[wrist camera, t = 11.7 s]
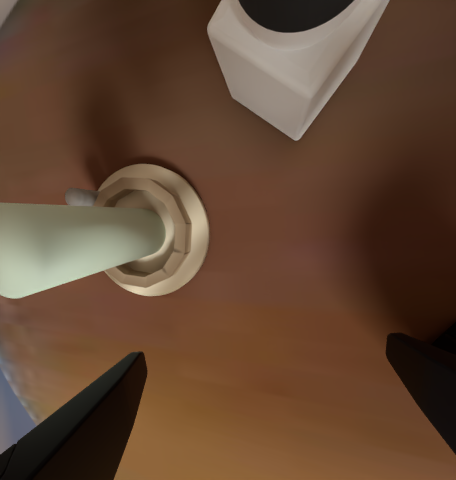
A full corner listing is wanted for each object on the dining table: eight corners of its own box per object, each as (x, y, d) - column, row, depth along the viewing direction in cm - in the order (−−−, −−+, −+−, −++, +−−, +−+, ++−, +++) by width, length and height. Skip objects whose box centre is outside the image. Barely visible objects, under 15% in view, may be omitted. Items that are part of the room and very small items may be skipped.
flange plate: (236, 214, 19) (226, 215, 16) (168, 316, 22) (145, 337, 19) (129, 140, 21) (95, 123, 17) (78, 244, 24) (40, 250, 20)
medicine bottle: (358, 60, 16) (577, -344, 4) (296, 143, 18) (337, 9, 6) (282, 13, 17) (297, -442, 5) (230, 97, 18) (151, -102, 7)
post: (174, 238, 20) (60, 266, 9) (141, 263, 21) (5, 314, 10) (147, 198, 20) (4, 182, 9) (116, 226, 21) (-44, 239, 11)
